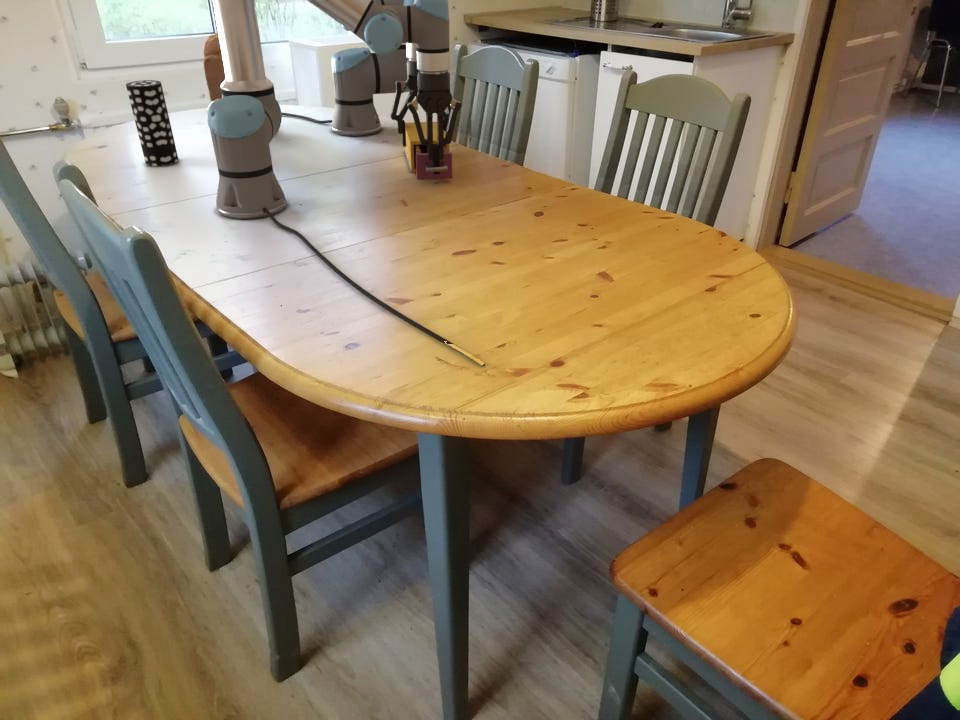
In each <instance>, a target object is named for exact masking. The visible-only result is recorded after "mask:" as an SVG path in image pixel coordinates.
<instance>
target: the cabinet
mask: <svg viewBox="0 0 960 720" xmlns="http://www.w3.org/2000/svg"><path fill="white" fill-rule="evenodd" d="M420 123H421V127H422V131H423V134H424V138H425V139H427V127H426V121H420ZM405 134H406V147H404V154H405V158H406V160H407V164H408V167H409V169H410V173H411V174H413V173H414V174H415V173H416V165H415V162H414V145H420V144H421V143H420V140H419V136H418V133H417V129H416V126H415V122H414V121H413V122H405ZM445 135H446V132H445V131H444V138H445ZM433 144H438V141H437V121H433ZM444 146H445V148H446V150H447V152H450V144H446V145H444Z"/></svg>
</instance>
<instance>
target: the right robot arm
mask: <svg viewBox="0 0 960 720" xmlns="http://www.w3.org/2000/svg"><path fill="white" fill-rule="evenodd" d="M373 1H375V2H376V3H378V4H379V5H387V6H411V5H414V0H373ZM341 27H342V29H343V30H345V31H347V32H351V31H350V30H348V29H347V28H346V27H344V26H343V25H341ZM418 72H419V70H418V69H417V51H416V43H402V44H401V45H400V47H399V48H398V49H397V50H396V51H395V52H393V53H391V54H389V55H380V54H377V53H375V52H372V51H371V49H370V48H369V47H365V46H364V47H363V46H362V47H351V48H346V49H342V50H339V51H337V52H335V53H333V55H332V56H331V74H332V83H333V91H334V92H333V93H334V110H333V114H332V115H333V116H332V119H326V120H325V119H324V120H320V119H319V120H318V119H315V118H312V117H310V116H305V115H301V114H295V113H288V112H282V111H281V115H282V116H286V117H292V118H298V119H303V120H307V121H309V122H313V123H317V124H330V123H331V132H332V133H334V134H336V135H339V136H347V137H362V136H363V137H364V136H369V135H374V134H377V133H379V132H380V131H382V124H381V120H380V117H379V116H380V115H379V114H378V112H377V109H376V106H375V104H374V95H384V94H394V98H393V102H392V107H391V110H390V119H391V121H396V122H397V133H398V134H399V135H401V141H402V146H403V148H405V147H406V134H405V123H406V121H405V119H404V118H405V116H406V114H407V113H408V111H409V108H408V106H407V103H409V102H412V101H413V100H415V99H416V95H417V92H418V82H417V73H418ZM404 93H408V95H407V97H406V99H405V101H404V103H403V104H402V107H401V109H400V111H399V113H398V108H399V105H400V102H401V97H402V94H404ZM450 105H451V102H450V104H449V105H448V107H447V108H446V109H447V110H448V111H447V112H446V110H445V111H444V112H443V130H444V131H445V133H446V130H447V126H448V121H449V116H450V112H451V109H452V108H451V106H450ZM397 113H398V114H397Z"/></svg>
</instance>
